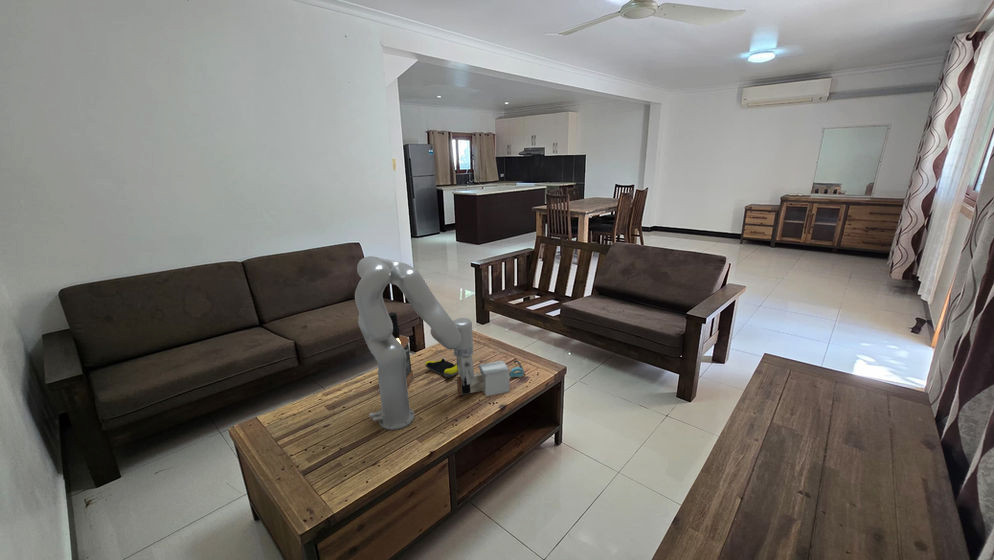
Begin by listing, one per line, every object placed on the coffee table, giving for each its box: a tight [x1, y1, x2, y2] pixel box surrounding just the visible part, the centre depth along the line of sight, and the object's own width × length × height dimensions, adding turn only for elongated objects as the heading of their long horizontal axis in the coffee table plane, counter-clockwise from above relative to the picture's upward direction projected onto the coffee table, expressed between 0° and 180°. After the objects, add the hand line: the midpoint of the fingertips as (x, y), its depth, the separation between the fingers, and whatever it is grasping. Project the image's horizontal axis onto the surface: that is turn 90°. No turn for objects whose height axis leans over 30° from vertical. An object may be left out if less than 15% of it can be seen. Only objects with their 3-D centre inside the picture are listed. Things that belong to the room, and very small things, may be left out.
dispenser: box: [478, 360, 511, 397], centre depth 163 cm, size 10×8×10 cm
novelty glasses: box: [509, 359, 525, 379], centre depth 177 cm, size 14×15×5 cm
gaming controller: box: [424, 358, 459, 378], centre depth 177 cm, size 15×6×10 cm
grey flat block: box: [456, 372, 484, 396], centre depth 161 cm, size 18×2×7 cm, turn 108°
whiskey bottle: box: [388, 311, 415, 389], centre depth 165 cm, size 10×10×32 cm
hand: (465, 391), depth 160 cm, fingers closed on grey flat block, 2 cm apart
